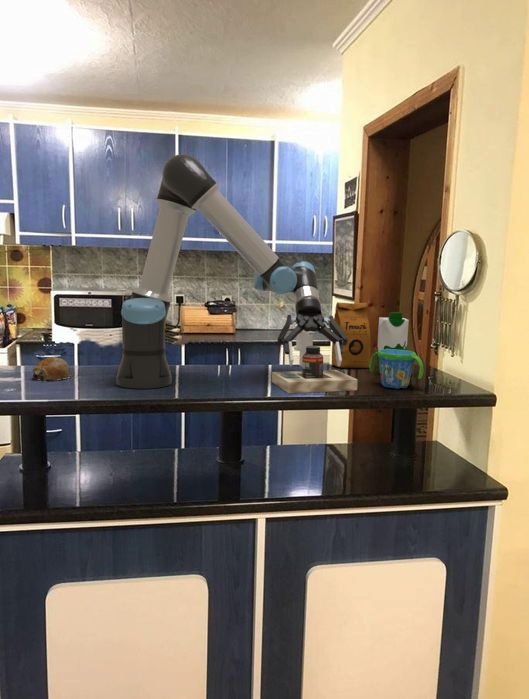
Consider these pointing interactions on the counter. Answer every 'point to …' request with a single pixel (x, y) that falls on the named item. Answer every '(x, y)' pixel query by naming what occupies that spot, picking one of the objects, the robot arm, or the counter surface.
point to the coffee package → (353, 335)
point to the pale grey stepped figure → (303, 343)
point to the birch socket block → (314, 382)
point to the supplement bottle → (312, 363)
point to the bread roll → (51, 369)
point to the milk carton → (392, 333)
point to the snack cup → (396, 367)
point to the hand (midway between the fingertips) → (315, 363)
